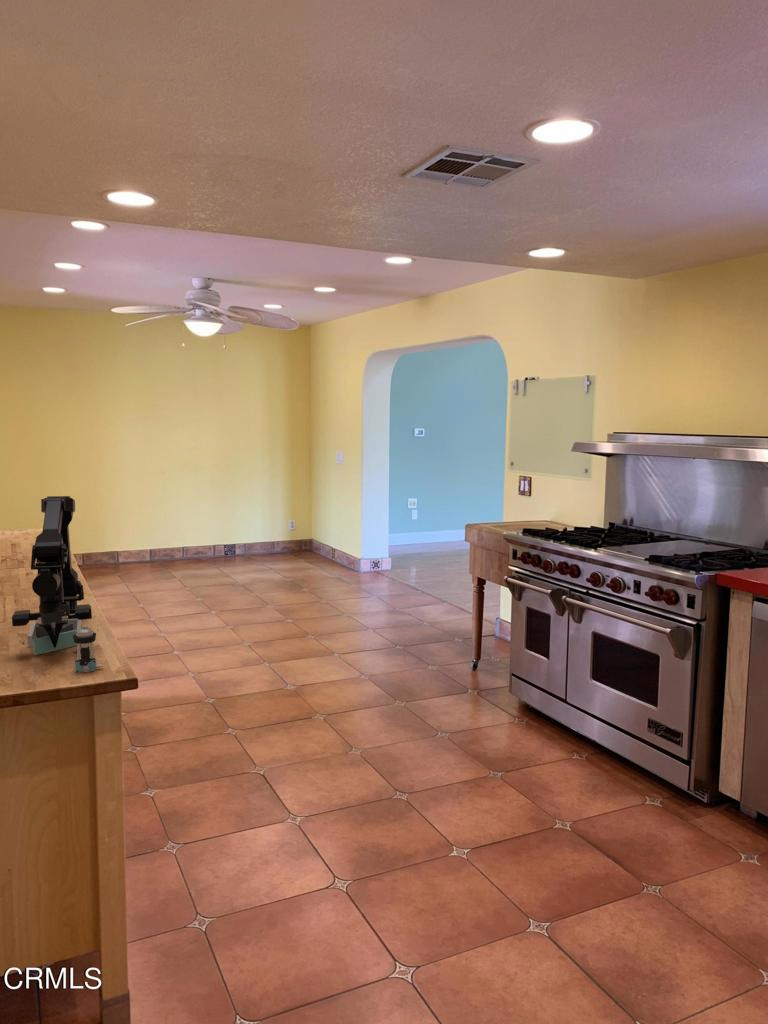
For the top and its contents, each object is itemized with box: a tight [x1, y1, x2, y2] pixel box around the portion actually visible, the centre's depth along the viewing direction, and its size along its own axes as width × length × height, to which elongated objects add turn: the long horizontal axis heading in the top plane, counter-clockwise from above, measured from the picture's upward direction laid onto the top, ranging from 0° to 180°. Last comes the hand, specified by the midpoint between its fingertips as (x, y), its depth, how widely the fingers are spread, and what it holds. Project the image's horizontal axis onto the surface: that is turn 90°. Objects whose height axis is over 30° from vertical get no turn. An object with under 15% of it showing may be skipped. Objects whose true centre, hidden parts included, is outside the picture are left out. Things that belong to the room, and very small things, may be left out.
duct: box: [27, 619, 89, 648], centre depth 212 cm, size 17×15×4 cm
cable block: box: [35, 622, 73, 639], centre depth 212 cm, size 5×8×4 cm, turn 84°
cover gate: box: [32, 629, 81, 656], centre depth 202 cm, size 1×13×4 cm, turn 142°
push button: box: [73, 628, 104, 674], centre depth 186 cm, size 7×5×10 cm
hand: (55, 647), depth 199 cm, fingers closed
